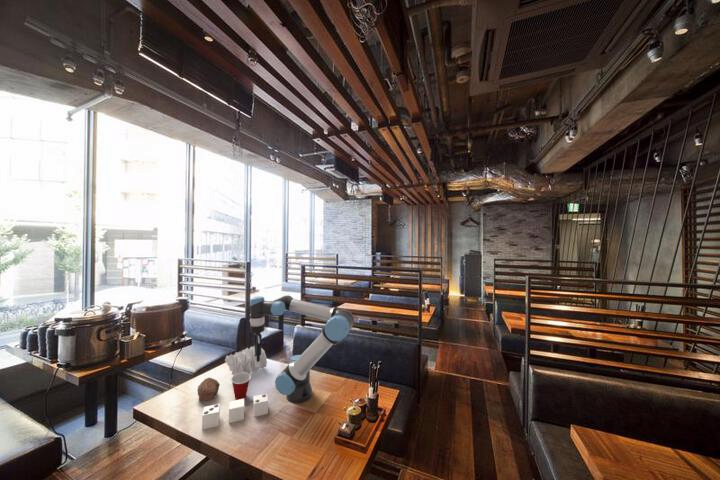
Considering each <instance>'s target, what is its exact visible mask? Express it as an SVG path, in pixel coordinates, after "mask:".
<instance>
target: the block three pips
mask: <svg viewBox="0 0 720 480" xmlns="http://www.w3.org/2000/svg"><path fill="white" fill-rule="evenodd" d="M220 405H221V404H220V403H216V404H212V405H207V406H204V407H203V410H202V415H201V416H202V418H201V419H202V420H201V430H207V429H210V428H214V427H218V426H219V424H220V410H221V409H220V408H221V407H220Z"/></svg>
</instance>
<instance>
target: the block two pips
mask: <svg viewBox="0 0 720 480" xmlns="http://www.w3.org/2000/svg"><path fill="white" fill-rule="evenodd" d="M252 398H253V404H252V409H253V413H252V414H253V418H254V417H255V418H256V417H259V416H263V415H268V414H269V397H268V393H263V394H258V395H253V397H252Z"/></svg>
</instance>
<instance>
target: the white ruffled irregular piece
mask: <svg viewBox="0 0 720 480" xmlns="http://www.w3.org/2000/svg"><path fill="white" fill-rule="evenodd" d="M254 355H256V354H255V346H254V345H253V346H250V348H248V347H246V348H245V349H242V350H240V351H238V352H237V351H236V352H235V353H234V354H232V353H230V354H229V355H226V356H225V359H224V362H225V364H227V366H228V369H229V371H230V372H231V375H232V377H233V376H234V375H236V374H239V373H248V374H250V375H251V373H253V372H254V373H257V372H258V371H260V369H261V370H263V369H264V368H267V363H268V361H267V358H268V357H267V355H266V352H265V350H264V349H263V348H262V347H261V355H260V359H261V366H260V367H255V356H254Z"/></svg>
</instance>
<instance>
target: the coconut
mask: <svg viewBox="0 0 720 480" xmlns="http://www.w3.org/2000/svg"><path fill="white" fill-rule="evenodd" d="M219 389H220V382H219V381H218V380H217V379H215V378H212V377H207V378H204V380H202V382H201V383H200V384H199V385H198V386H197V396H198V400H199V401H200V400H201V401H204V402H206V401H209V400H212V399H215V398H216V396H217V395H218V393H219Z"/></svg>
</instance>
